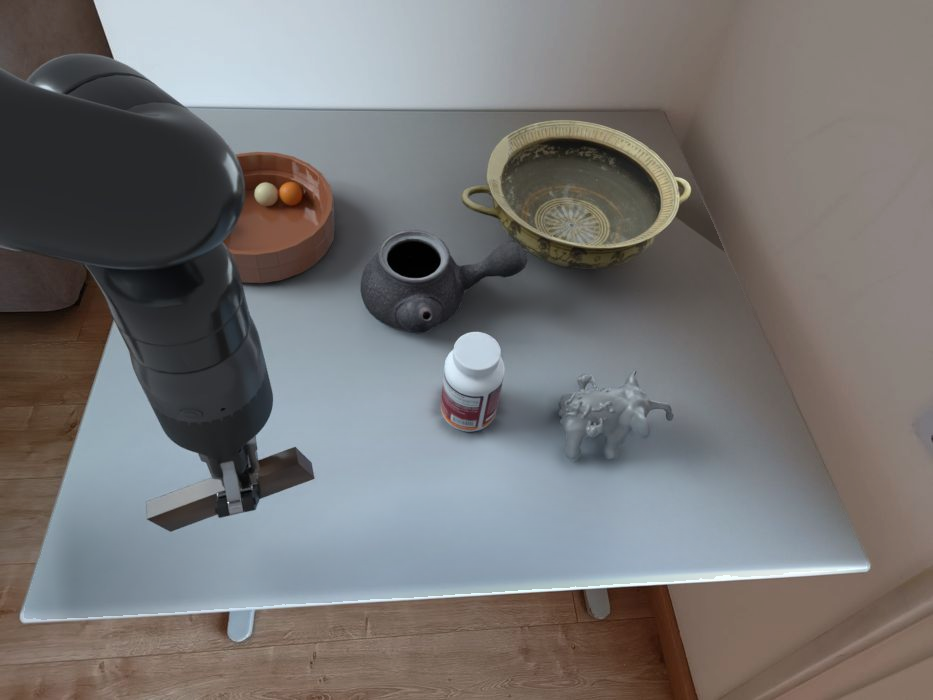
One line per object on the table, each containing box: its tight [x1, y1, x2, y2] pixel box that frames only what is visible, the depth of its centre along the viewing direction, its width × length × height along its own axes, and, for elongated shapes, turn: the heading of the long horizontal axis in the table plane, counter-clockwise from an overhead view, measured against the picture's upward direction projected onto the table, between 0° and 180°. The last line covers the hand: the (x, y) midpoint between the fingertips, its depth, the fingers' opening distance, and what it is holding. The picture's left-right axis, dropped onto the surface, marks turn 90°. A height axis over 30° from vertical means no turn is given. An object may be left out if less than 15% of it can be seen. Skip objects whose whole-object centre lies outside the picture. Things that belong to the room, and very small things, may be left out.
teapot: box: [360, 229, 528, 334], centre depth 83 cm, size 19×15×10 cm
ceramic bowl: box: [461, 119, 692, 270], centre depth 92 cm, size 30×24×10 cm
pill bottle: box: [440, 331, 506, 433], centre depth 74 cm, size 6×6×11 cm
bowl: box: [223, 151, 336, 284], centre depth 89 cm, size 18×18×6 cm
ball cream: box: [254, 183, 278, 206], centre depth 92 cm, size 3×3×3 cm
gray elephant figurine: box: [557, 369, 674, 461], centre depth 75 cm, size 9×12×8 cm
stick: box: [145, 446, 315, 533], centre depth 59 cm, size 13×2×4 cm, turn 107°
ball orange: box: [279, 182, 303, 206], centre depth 93 cm, size 3×3×3 cm
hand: (246, 488), depth 59 cm, fingers closed on stick, 1 cm apart
